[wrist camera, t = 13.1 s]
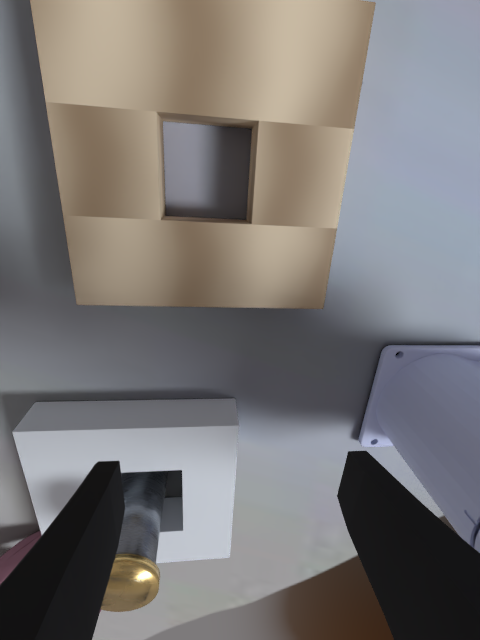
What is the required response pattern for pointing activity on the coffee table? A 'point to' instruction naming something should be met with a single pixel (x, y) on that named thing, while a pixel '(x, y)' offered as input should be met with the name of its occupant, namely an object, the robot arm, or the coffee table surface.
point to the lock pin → (137, 543)
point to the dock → (140, 461)
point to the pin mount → (207, 109)
